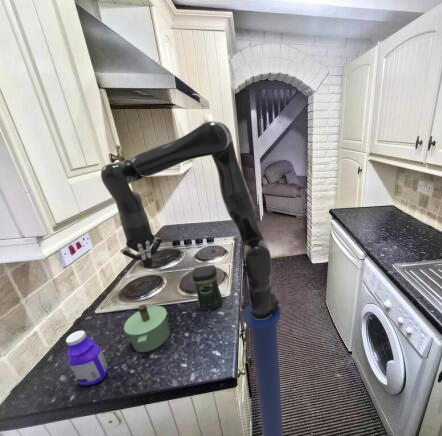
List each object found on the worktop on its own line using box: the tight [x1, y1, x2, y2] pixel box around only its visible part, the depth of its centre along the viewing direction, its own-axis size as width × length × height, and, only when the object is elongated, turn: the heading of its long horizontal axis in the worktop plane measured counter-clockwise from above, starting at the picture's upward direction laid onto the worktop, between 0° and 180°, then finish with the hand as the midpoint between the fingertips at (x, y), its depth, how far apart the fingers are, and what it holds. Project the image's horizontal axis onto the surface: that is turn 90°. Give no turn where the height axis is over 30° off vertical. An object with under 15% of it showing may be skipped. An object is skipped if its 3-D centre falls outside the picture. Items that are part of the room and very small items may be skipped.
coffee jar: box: [192, 264, 223, 311], centre depth 96 cm, size 10×8×19 cm
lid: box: [123, 304, 168, 336], centre depth 80 cm, size 13×13×7 cm
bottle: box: [65, 330, 109, 386], centre depth 68 cm, size 7×6×17 cm
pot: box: [127, 304, 171, 353], centre depth 83 cm, size 12×17×8 cm
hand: (148, 266), depth 83 cm, fingers closed
